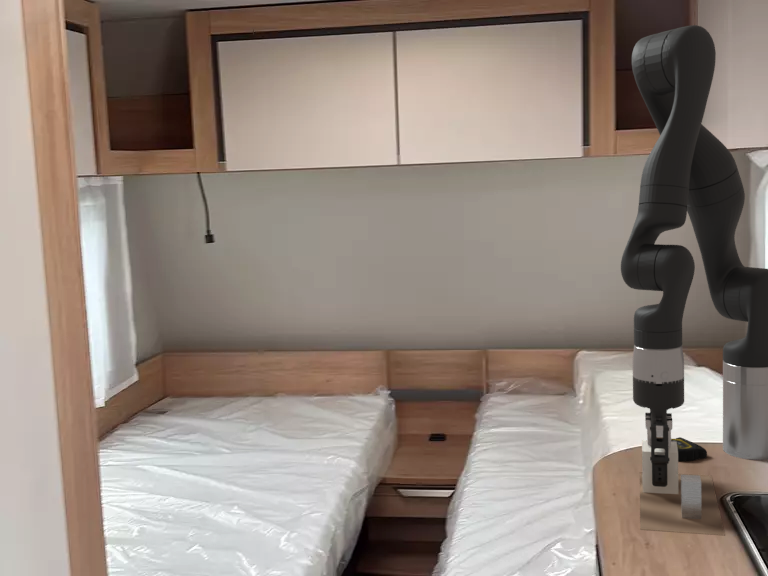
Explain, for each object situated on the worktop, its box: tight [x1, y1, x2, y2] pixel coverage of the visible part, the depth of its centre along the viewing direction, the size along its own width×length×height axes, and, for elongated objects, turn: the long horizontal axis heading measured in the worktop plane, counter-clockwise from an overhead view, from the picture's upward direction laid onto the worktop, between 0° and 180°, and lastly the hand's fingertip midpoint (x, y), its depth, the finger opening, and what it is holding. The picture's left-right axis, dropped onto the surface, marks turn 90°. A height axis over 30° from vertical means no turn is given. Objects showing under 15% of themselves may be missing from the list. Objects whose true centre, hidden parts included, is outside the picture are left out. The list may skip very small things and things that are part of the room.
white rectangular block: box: [641, 439, 679, 494], centre depth 130 cm, size 5×5×7 cm
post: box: [681, 474, 701, 519], centre depth 119 cm, size 3×3×6 cm
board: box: [639, 471, 726, 536], centre depth 125 cm, size 22×11×2 cm, turn 163°
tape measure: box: [671, 436, 708, 463], centre depth 143 cm, size 7×7×4 cm
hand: (659, 476), depth 130 cm, fingers open, 7 cm apart
